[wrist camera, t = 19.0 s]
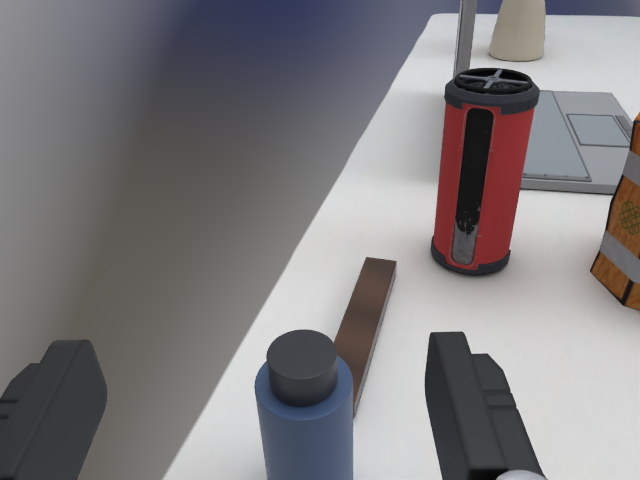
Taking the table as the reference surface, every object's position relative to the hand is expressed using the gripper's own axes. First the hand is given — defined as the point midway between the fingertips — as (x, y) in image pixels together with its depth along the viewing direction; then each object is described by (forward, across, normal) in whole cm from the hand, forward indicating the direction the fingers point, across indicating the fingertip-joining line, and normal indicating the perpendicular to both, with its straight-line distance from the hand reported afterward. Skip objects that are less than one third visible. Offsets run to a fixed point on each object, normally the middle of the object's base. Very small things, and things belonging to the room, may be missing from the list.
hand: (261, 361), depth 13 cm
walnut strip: (+25, -4, +23) cm, 34 cm away
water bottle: (+11, 0, +22) cm, 25 cm away
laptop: (+66, -34, +23) cm, 77 cm away
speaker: (+36, -16, +23) cm, 46 cm away
